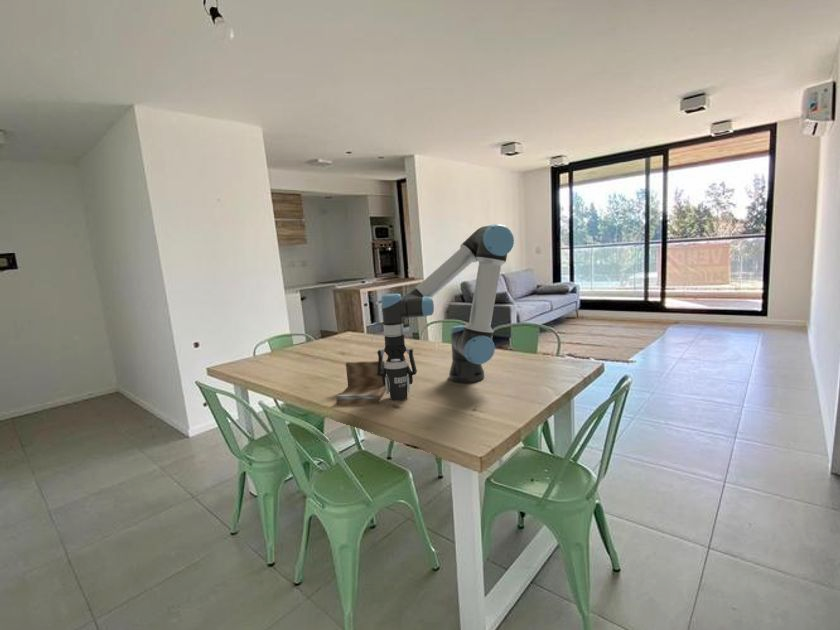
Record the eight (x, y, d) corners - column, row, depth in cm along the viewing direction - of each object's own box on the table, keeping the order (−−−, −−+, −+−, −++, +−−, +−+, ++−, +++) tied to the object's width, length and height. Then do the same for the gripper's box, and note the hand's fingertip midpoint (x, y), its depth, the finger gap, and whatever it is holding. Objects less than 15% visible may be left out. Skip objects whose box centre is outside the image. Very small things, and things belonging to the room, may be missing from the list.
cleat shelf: (386, 388, 176) (384, 360, 174) (378, 403, 160) (375, 372, 158) (349, 389, 178) (346, 362, 176) (337, 404, 162) (334, 374, 160)
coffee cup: (389, 403, 159) (386, 365, 156) (384, 395, 168) (381, 359, 166) (413, 399, 161) (411, 361, 159) (407, 391, 170) (405, 355, 168)
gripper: (422, 331, 163) (426, 388, 167) (370, 333, 166) (374, 389, 169) (419, 335, 156) (423, 395, 159) (365, 337, 158) (370, 396, 162)
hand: (398, 392), depth 164 cm, fingers closed on coffee cup, 8 cm apart
